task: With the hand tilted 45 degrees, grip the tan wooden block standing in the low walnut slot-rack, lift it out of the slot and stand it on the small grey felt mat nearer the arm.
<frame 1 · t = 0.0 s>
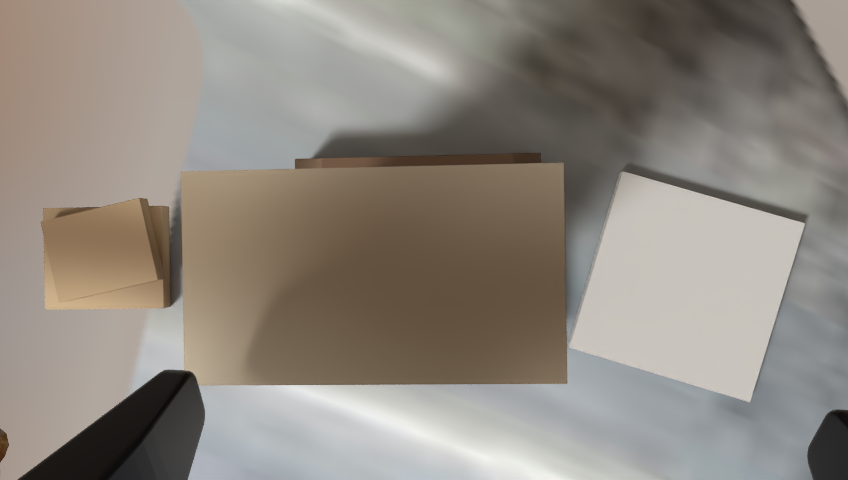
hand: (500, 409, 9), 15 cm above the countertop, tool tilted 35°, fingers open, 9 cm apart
tan wooden block: (420, 253, 24), resting in walnut rack
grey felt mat: (681, 285, 23), on the countertop
walnut rack: (420, 253, 24), on the countertop
oak offcuts: (111, 257, 24), on the countertop
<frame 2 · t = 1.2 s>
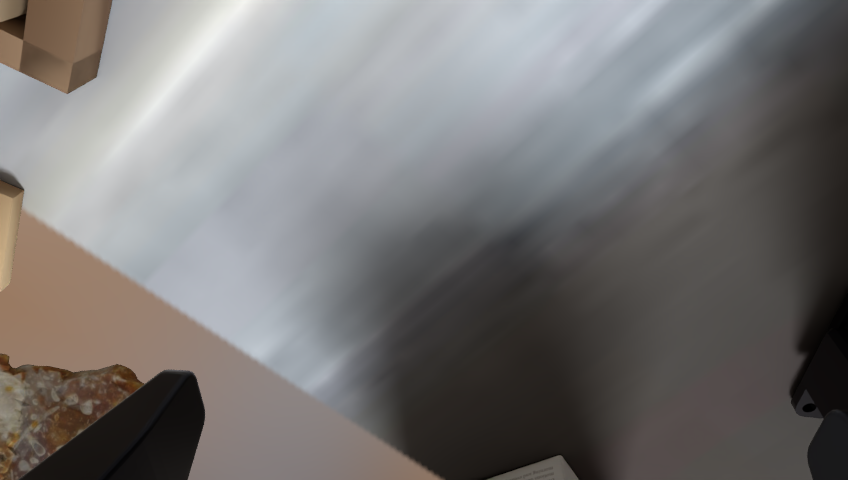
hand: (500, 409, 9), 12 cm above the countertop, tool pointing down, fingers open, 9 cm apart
decorative stone: (56, 405, 29), on the countertop
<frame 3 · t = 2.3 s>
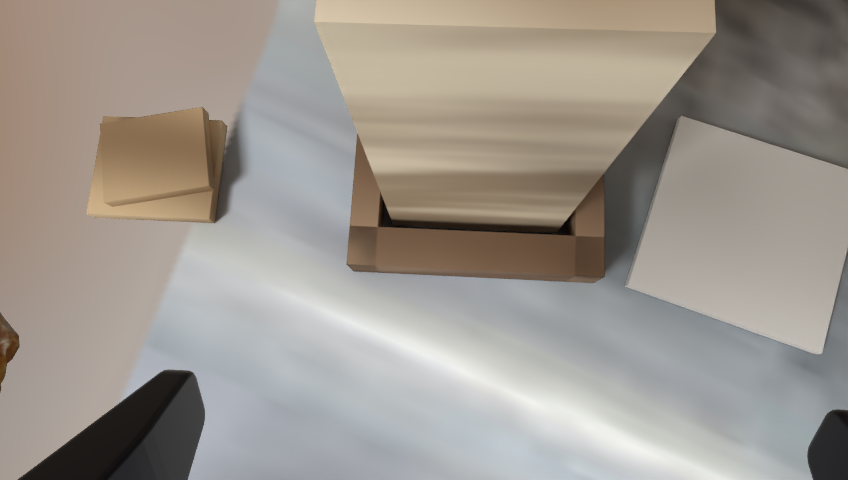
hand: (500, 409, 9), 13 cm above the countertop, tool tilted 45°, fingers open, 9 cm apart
tan wooden block: (476, 185, 23), resting in walnut rack
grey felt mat: (742, 231, 23), on the countertop
walnut rack: (476, 185, 23), on the countertop
oak offcuts: (162, 171, 24), on the countertop
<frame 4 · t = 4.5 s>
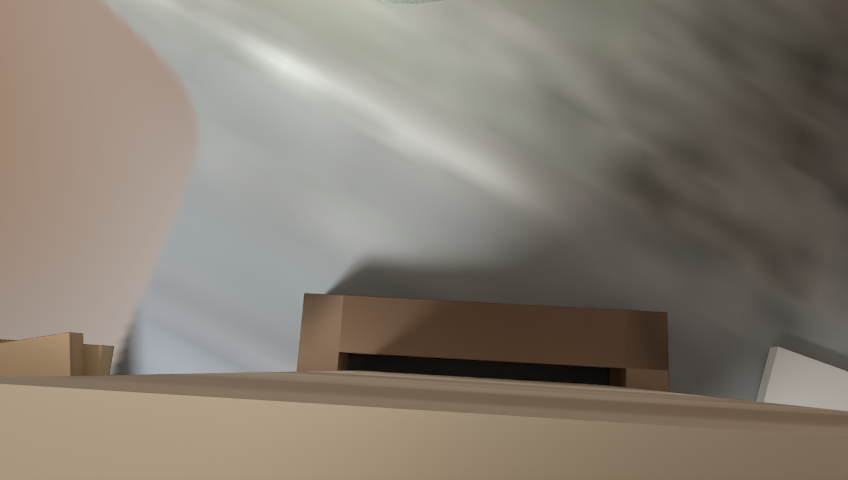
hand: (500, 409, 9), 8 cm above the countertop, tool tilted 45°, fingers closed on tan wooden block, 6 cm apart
tan wooden block: (474, 445, 16), resting in walnut rack, touching gripper
walnut rack: (474, 446, 16), on the countertop
oak offcuts: (16, 415, 16), on the countertop
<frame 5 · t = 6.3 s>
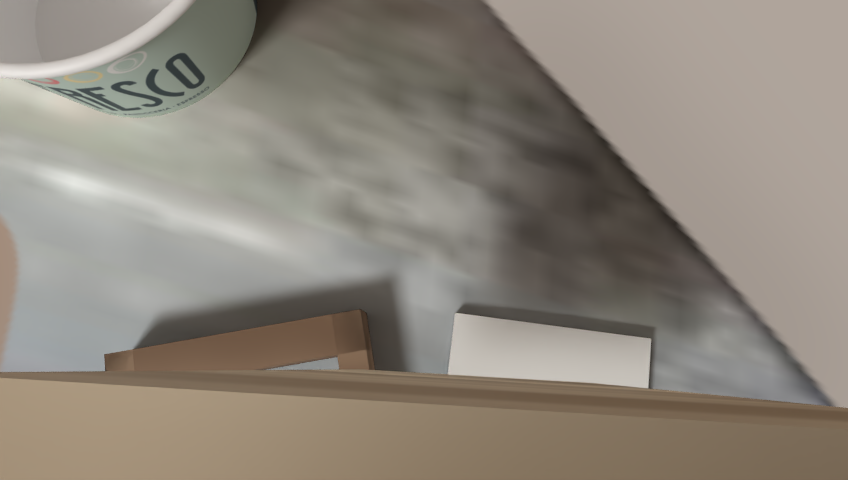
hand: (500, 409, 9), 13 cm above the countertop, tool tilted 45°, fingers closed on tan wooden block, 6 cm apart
tan wooden block: (473, 444, 16), point 6 cm above the countertop, touching gripper
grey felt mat: (541, 425, 21), on the countertop
walnut rack: (258, 433, 22), on the countertop
food container: (151, 18, 26), on the countertop
when the fingers open (9 cm above the countertop, at t = 8.0 s): tan wooden block drops 1 cm, resting on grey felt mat.
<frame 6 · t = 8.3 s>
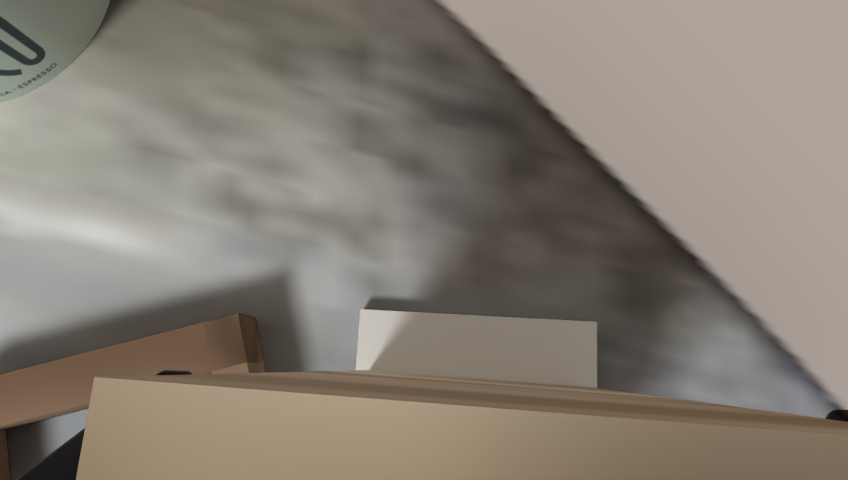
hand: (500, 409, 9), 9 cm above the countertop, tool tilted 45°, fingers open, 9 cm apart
tan wooden block: (471, 440, 17), resting on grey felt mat
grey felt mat: (472, 437, 18), on the countertop
walnut rack: (129, 475, 18), on the countertop
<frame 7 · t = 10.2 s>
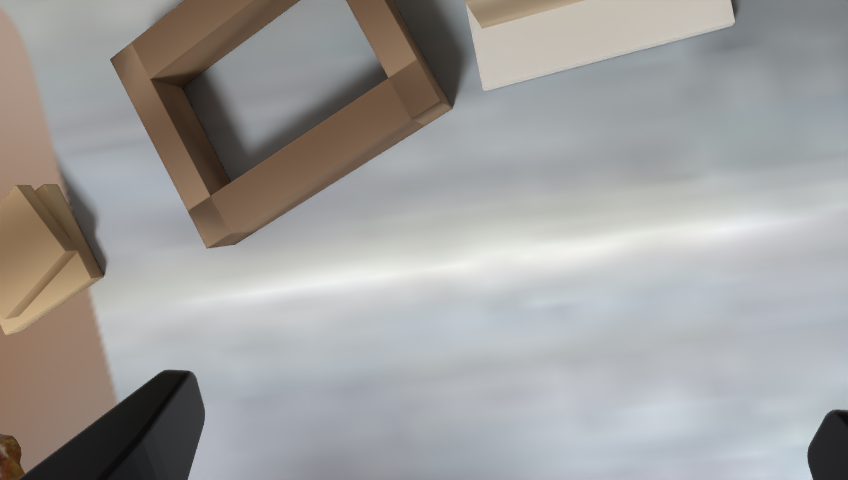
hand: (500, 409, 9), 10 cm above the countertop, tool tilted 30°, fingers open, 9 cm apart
walnut rack: (287, 87, 20), on the countertop
oak offcuts: (38, 259, 24), on the countertop
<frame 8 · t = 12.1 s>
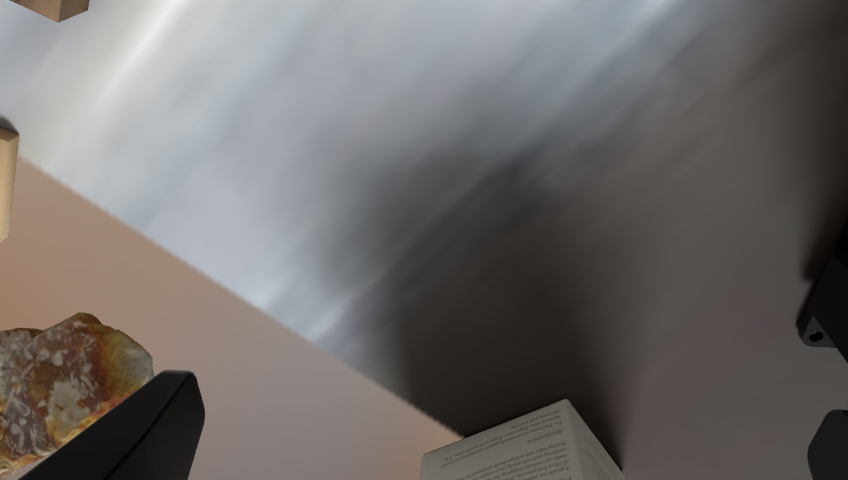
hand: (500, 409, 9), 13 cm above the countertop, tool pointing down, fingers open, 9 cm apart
decorative stone: (49, 374, 29), on the countertop
skincare box: (522, 455, 29), on the countertop
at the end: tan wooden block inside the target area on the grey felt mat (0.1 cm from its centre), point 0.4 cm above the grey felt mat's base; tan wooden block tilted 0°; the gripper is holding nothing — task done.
